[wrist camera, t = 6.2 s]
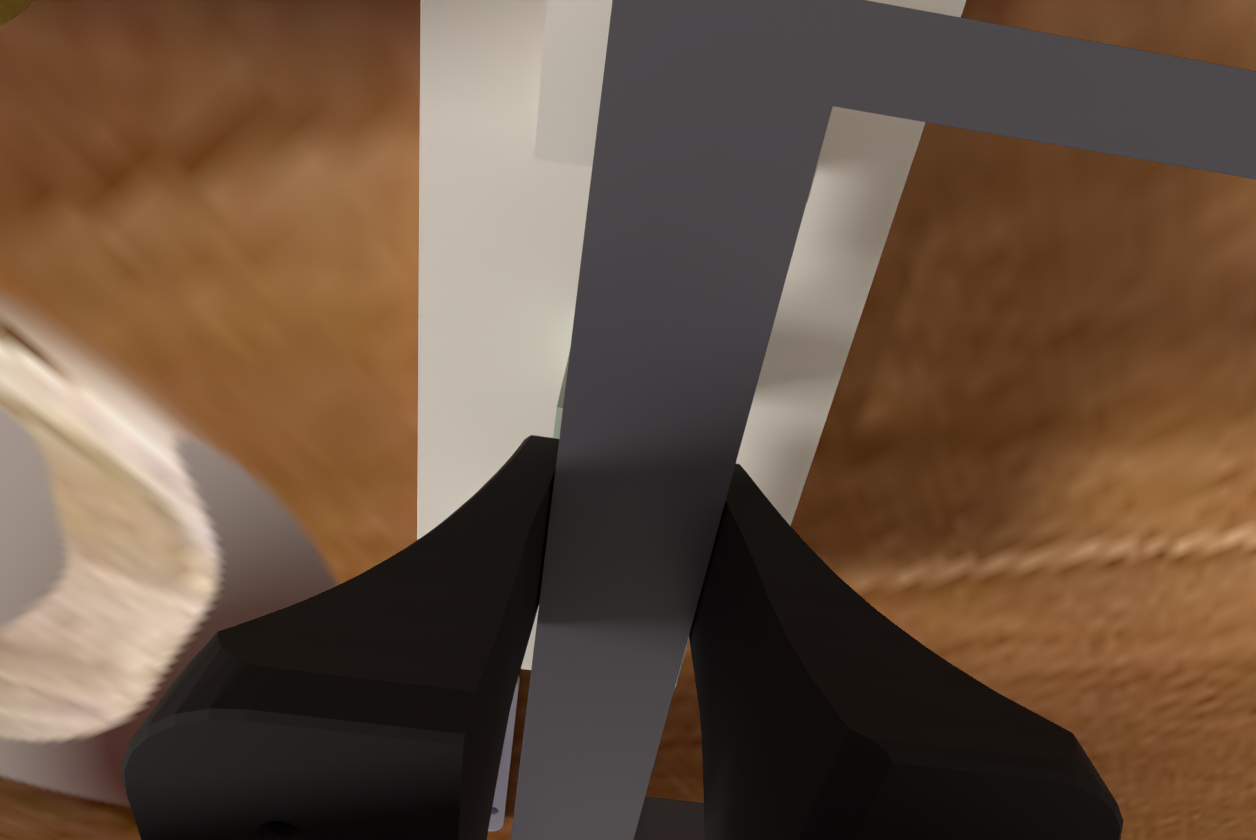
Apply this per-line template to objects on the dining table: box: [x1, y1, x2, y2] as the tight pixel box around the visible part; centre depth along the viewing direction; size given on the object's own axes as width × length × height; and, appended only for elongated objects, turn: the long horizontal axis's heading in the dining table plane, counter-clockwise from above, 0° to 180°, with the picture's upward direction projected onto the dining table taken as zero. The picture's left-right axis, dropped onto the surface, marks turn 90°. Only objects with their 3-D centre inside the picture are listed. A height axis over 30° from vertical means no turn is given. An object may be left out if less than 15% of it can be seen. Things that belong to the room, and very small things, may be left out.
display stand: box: [417, 0, 966, 687], centre depth 16 cm, size 19×11×6 cm, turn 171°
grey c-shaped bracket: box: [511, 0, 1256, 840], centre depth 13 cm, size 16×8×4 cm, turn 171°
